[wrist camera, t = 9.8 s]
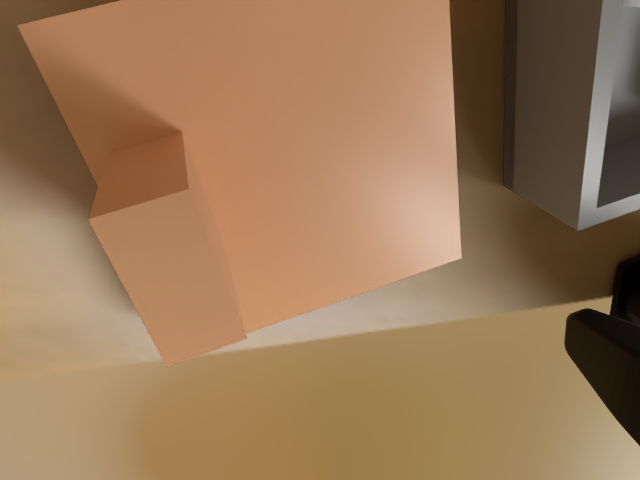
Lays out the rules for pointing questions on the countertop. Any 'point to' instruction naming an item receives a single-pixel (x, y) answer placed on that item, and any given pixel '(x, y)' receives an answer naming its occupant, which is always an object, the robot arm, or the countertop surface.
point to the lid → (258, 152)
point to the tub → (573, 107)
